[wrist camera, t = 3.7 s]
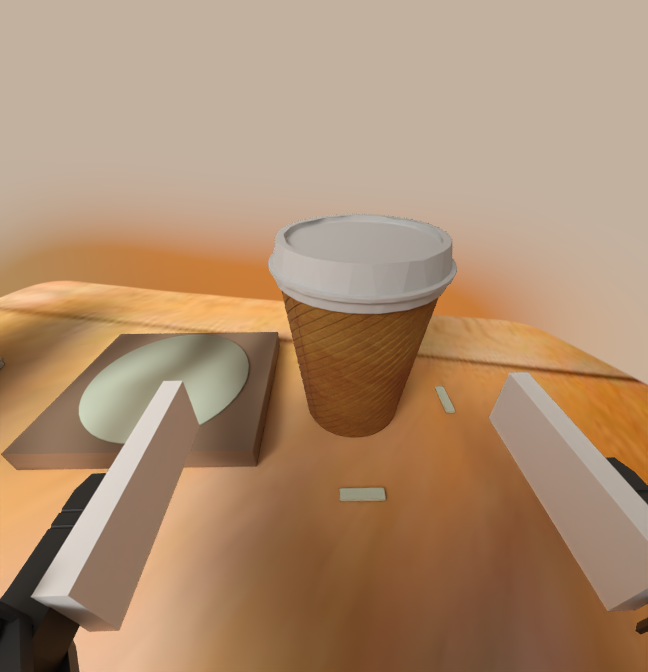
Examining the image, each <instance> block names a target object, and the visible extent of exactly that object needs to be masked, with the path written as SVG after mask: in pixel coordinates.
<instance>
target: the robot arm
mask: <svg viewBox="0 0 648 672" xmlns="http://www.w3.org/2000/svg"><path fill="white" fill-rule="evenodd" d="M489 420H490V421H491V423H492V425H493V426H494V428H495V429H496V431H497V433H498V434H499V436H500V438H501V439H502V441H503V442H504V444H505V446H506V447H507V449H508V451H509V452H510V454H511V455H512V457H513V459H514V460H515V462H516V464H517V465H518V467H519V468H520V470H521V472H522V473H523V475H524V477H525V478H526V480H527V481H528V483H529V485H530V486H531V488H532V490H533V491H534V493H535V494H536V496H537V498H538V499H539V501H540V503H541V504H542V506H543V507H544V509H545V511H546V512H547V514H548V516H549V517H550V519H551V520H552V522H553V524H554V525H555V527H556V529H557V530H558V532H559V533H560V535H561V537H562V538H563V540H564V542H565V543H566V545H567V546H568V548H569V550H570V551H571V553H572V555H573V556H574V558H575V559H576V561H577V563H578V564H579V566H580V568H581V569H582V571H583V572H584V574H585V576H586V577H587V579H588V580H589V582H590V584H591V585H592V587H593V589H594V590H595V592H596V593H597V595H598V597H599V598H600V600H601V602H602V603H603V605H604V606H605V608H606V610H607V611H628V610H636V609H638V608H640V607H642V606H644V605H646V604H648V486H647V485H646V484H645V483H644V482H643V480H642V479H641V478H640V477H639V476H638V475H637V474H636V473H635V472H634V471H632V470H631V469H630V468H628V467H627V466H625V465H624V464H623V463H621V462H620V461H618V460H617V459H616V458H614V457H612V458H605V457H604V456H603V455H602V454H601V453H600V452H599V450H598V449H597V448H596V447H595V446H594V445H593V444H592V443H591V442H590V440H589V439H588V438H587V437H586V436H585V435H584V434H583V433H582V432H581V430H580V429H579V428H578V427H577V426H576V425H575V424H574V423H573V422H572V420H571V419H570V418H569V417H568V416H567V415H566V414H565V413H564V412H563V410H562V409H561V408H560V407H559V406H558V405H557V404H556V403H555V402H554V400H553V399H552V398H551V397H550V396H549V395H548V394H547V393H546V392H545V391H544V389H543V388H542V387H541V386H540V385H539V384H538V383H537V382H536V381H535V379H534V378H533V377H532V376H531V375H530V374H529V373H528V372H516V373H509V375H508V377H507V379H506V381H505V383H504V386H503V388H502V390H501V392H500V394H499V397H498V399H497V401H496V403H495V405H494V408H493V410H492V412H491V414H490V416H489ZM199 427H200V426H199V423H198V420H197V418H196V415H195V412H194V409H193V407H192V404H191V401H190V399H189V396H188V393H187V391H186V388H185V385H184V382H183V381H163V382H162V384H161V386H160V387H159V389H158V391H157V392H156V394H155V395H154V397H153V399H152V400H151V402H150V404H149V405H148V407H147V408H146V410H145V412H144V413H143V415H142V417H141V418H140V420H139V421H138V423H137V425H136V426H135V428H134V430H133V431H132V433H131V435H130V436H129V438H128V439H127V441H126V443H125V444H124V446H123V448H122V449H121V451H120V452H119V454H118V456H117V457H116V459H115V461H114V462H113V464H112V465H111V467H110V469H109V470H108V472H107V473H99V474H91V475H90V476H89V477H88V478H87V479H86V480H85V481H84V482H83V483H82V484H81V485H80V486H78V487H77V488H76V489H75V490H74V492H73V493H72V495H71V496H70V498H69V499H68V501H67V502H66V504H65V505H64V507H63V508H62V512H61V513H59V514H58V515H57V517H56V518H55V520H54V521H53V523H52V524H51V528H50V529H48V530H47V532H46V533H45V535H44V536H43V538H42V539H41V541H40V542H39V544H38V545H37V547H36V548H35V550H34V551H33V553H32V554H31V555H30V557H29V558H28V560H27V561H26V563H25V564H24V566H23V567H22V569H21V570H20V572H19V573H18V575H17V576H16V578H15V579H14V581H13V582H12V584H11V585H10V587H9V588H8V590H7V591H6V592H5V594H4V595H3V596H2V598H1V599H0V672H79V665H78V658H77V651H76V646H75V643H74V641H73V638H74V636H75V634H76V632H77V630H78V628H79V626H81V627H83V628H84V629H86V630H88V631H90V632H95V631H119V630H120V627H121V625H122V622H123V620H124V617H125V615H126V612H127V610H128V607H129V604H130V602H131V599H132V597H133V594H134V592H135V589H136V587H137V584H138V582H139V579H140V577H141V574H142V571H143V569H144V566H145V564H146V561H147V559H148V556H149V554H150V551H151V549H152V546H153V543H154V541H155V538H156V536H157V533H158V531H159V528H160V526H161V523H162V521H163V518H164V516H165V513H166V510H167V508H168V505H169V503H170V500H171V498H172V495H173V493H174V490H175V488H176V485H177V483H178V480H179V477H180V475H181V472H182V470H183V467H184V465H185V462H186V460H187V457H188V455H189V452H190V449H191V447H192V444H193V442H194V439H195V437H196V434H197V432H198V429H199ZM635 631H636V632H638V633H639V634H643V633H645V632H647V631H648V618H646V619H644V620H642V621H640V622H638V623H637V626H636V630H635Z"/></svg>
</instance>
